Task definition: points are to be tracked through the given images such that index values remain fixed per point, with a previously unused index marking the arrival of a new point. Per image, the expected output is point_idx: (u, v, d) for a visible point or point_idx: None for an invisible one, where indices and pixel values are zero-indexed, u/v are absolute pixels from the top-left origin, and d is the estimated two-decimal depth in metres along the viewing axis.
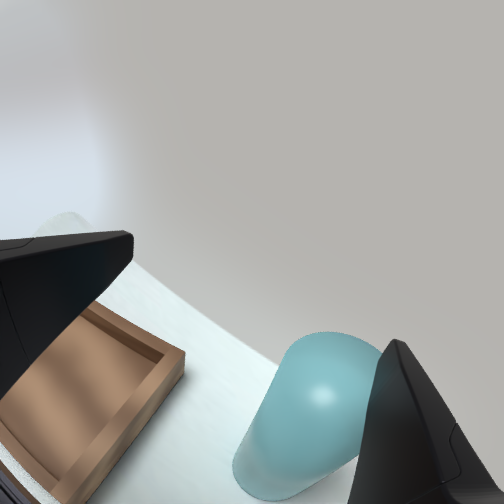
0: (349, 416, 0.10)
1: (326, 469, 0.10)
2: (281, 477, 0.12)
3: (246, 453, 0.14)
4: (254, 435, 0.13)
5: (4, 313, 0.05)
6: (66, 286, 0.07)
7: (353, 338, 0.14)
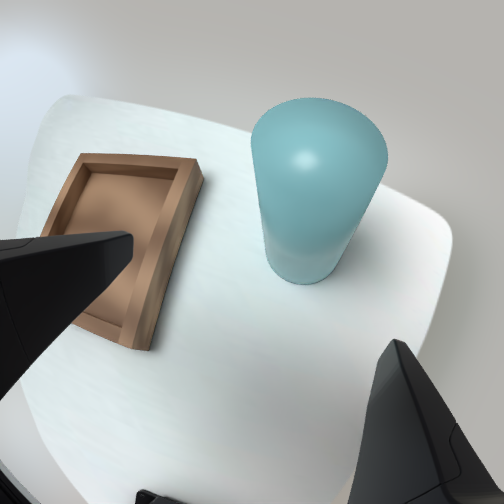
0: (325, 175, 0.11)
1: (329, 237, 0.14)
2: (297, 253, 0.16)
3: (265, 235, 0.18)
4: (261, 214, 0.16)
5: (4, 313, 0.05)
6: (66, 286, 0.07)
7: (326, 100, 0.13)
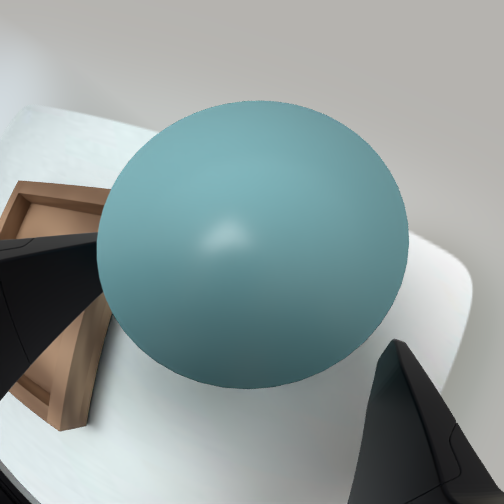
0: (238, 315, 0.05)
1: None
2: None
3: None
4: None
5: (4, 313, 0.05)
6: (66, 286, 0.07)
7: (276, 104, 0.06)
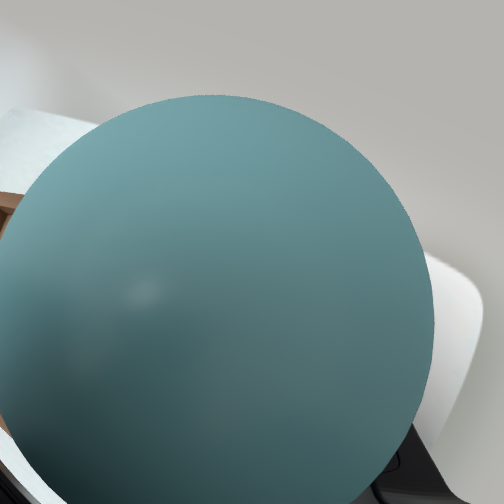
0: (130, 469, 0.02)
1: None
2: None
3: None
4: None
5: None
6: None
7: (217, 100, 0.04)
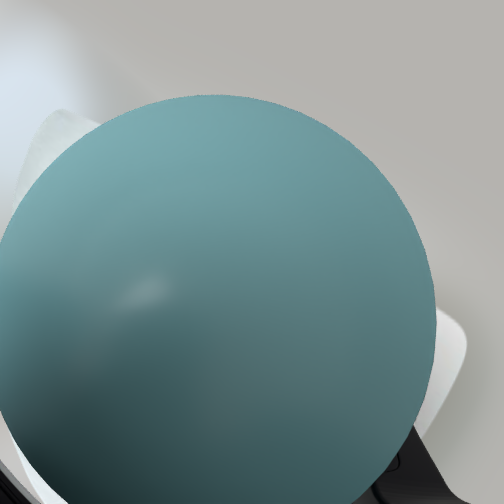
0: (132, 469, 0.02)
1: None
2: None
3: None
4: None
5: None
6: None
7: (220, 100, 0.04)
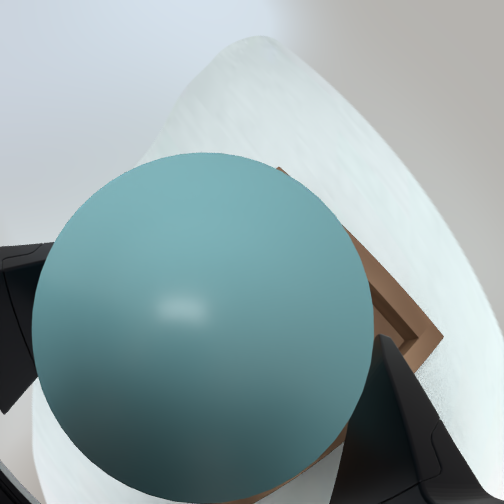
0: (158, 437, 0.03)
1: None
2: None
3: None
4: None
5: (12, 323, 0.05)
6: None
7: (218, 159, 0.05)
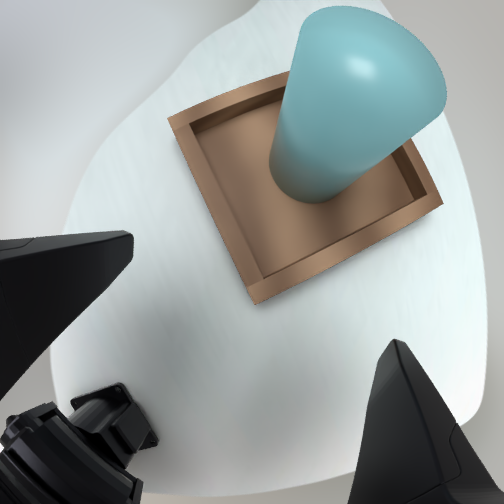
0: (378, 90, 0.08)
1: (354, 160, 0.11)
2: (309, 166, 0.14)
3: (277, 138, 0.15)
4: (282, 113, 0.13)
5: (4, 313, 0.05)
6: (66, 286, 0.07)
7: (392, 21, 0.08)
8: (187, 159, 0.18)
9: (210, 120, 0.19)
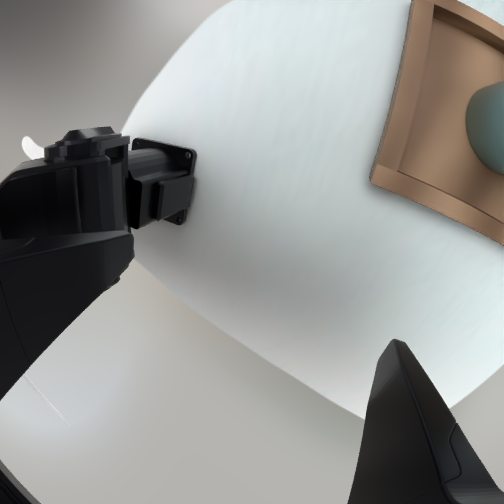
0: None
1: None
2: None
3: None
4: None
5: (4, 313, 0.05)
6: (66, 286, 0.07)
7: None
8: (412, 27, 0.11)
9: (453, 19, 0.10)
